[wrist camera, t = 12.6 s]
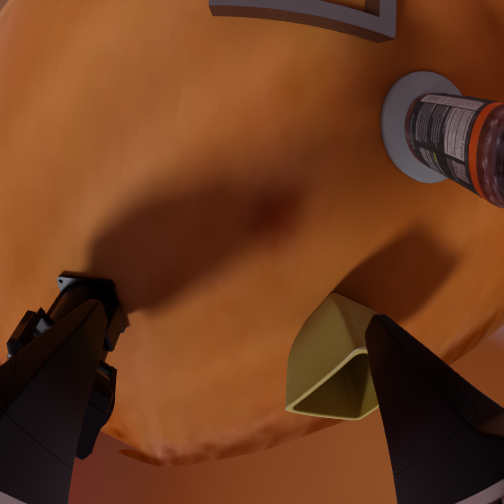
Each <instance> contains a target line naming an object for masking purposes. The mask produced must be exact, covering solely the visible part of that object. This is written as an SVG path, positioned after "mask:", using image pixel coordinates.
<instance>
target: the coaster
mask: <svg viewBox="0 0 504 504" xmlns="http://www.w3.org/2000/svg"><path fill="white" fill-rule="evenodd" d="M426 93H447V94H454V95H461V96H462V94H461V93H460V91H459V90H458V89H457V87H456V86H455V85H454V84H453V83H452V82H451V81H449V80H448V79H447V78H445V77H443V76H442V75H439V74H437V73H433V72H426V71H418V72H411V73H408V74H406V75H404V76H402V77H400V78H399V79H398V80H397V81H395V83H394V84H393V85H392V86H391V87H390V89H389V90H388V92H387V94H386V96H385V98H384V101H383V104H382V109H381V116H380V128H381V136H382V140H383V143H384V146H385V149H386V151H387V153H388V155H389V157H390V159H391V160H392V162H393V163H394V164H395V165H396V167H397V168H398V169H400V170H401V171H402V172H403V173H405V174H406V175H408V176H409V177H411V178H413V179H415V180H417V181H420V182H424V183H436V182H440V181H443V180H445V179H447V177H445V176H444V175H442V174H440V173H438V172H436V171H434V170H433V169H431V168H428V167H427V166H425V165H424V164H422V163H420V162H419V161H418V160H417V159H416V158H415V157H414V155H413V154H412V152H411V151H410V149H409V147H408V144H407V141H406V137H405V130H404V128H405V118H406V114H407V112H408V109H409V107H410V105H411V104H412V102H413V101H414V100H415V99H416V98H418V97H419V96H421V95H423V94H426Z"/></svg>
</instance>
